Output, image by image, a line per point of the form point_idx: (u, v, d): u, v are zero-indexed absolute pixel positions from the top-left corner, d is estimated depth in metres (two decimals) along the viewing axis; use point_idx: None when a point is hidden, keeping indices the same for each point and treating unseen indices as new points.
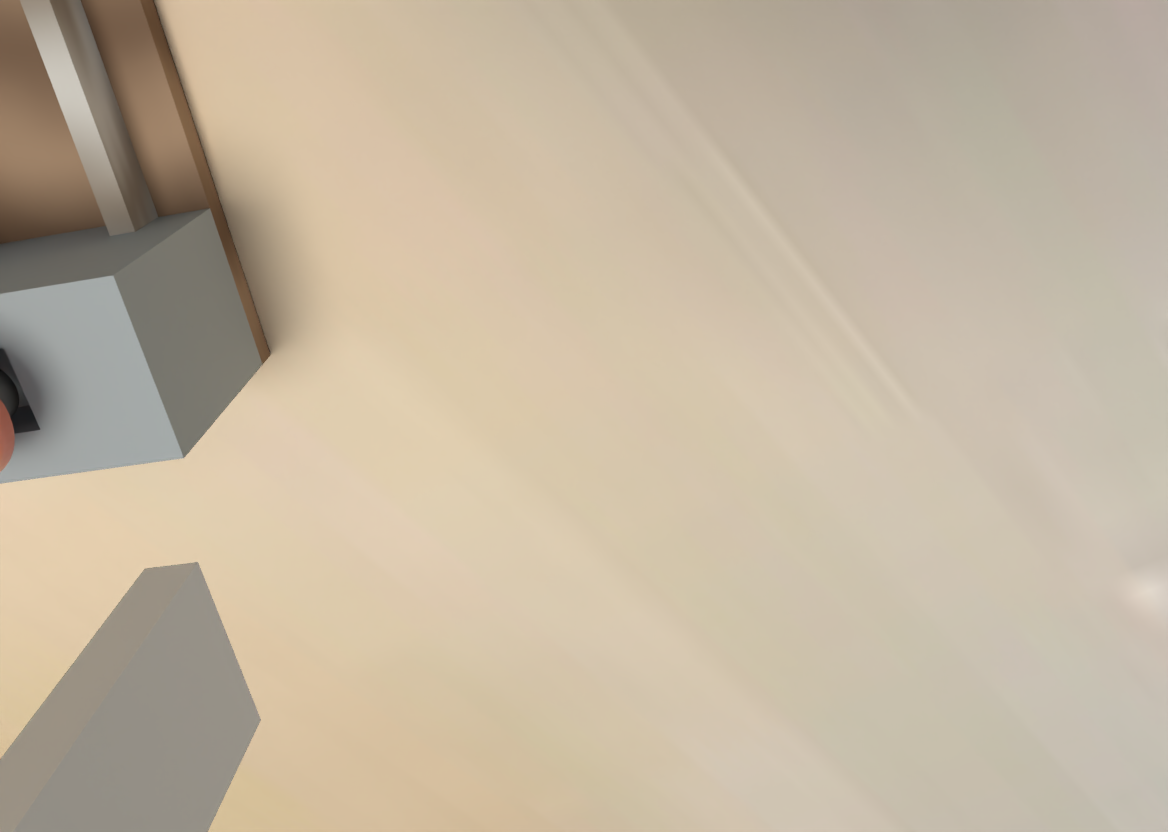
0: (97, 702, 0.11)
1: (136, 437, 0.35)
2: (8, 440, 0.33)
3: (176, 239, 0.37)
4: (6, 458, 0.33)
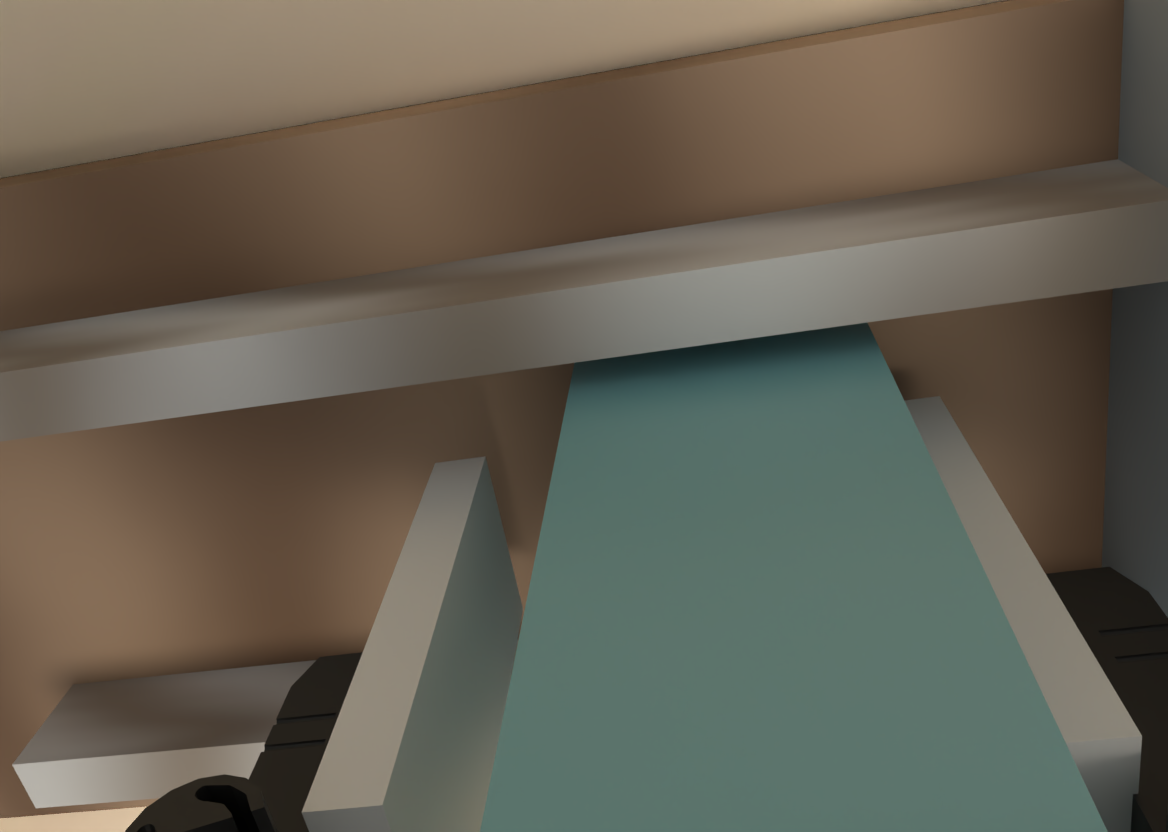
0: (448, 562, 0.13)
1: None
2: None
3: None
4: None
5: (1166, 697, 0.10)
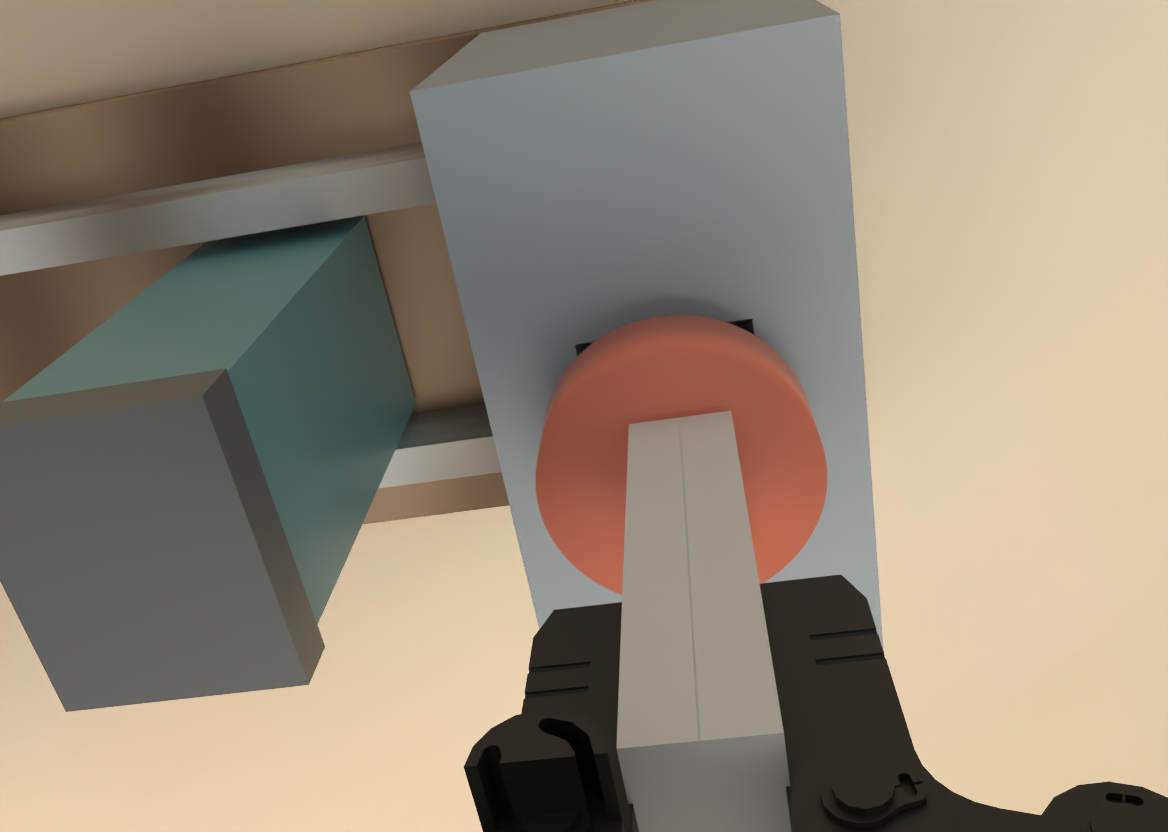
0: (679, 516, 0.13)
1: (780, 118, 0.16)
2: (709, 325, 0.16)
3: (469, 50, 0.20)
4: (750, 339, 0.16)
5: (847, 697, 0.10)
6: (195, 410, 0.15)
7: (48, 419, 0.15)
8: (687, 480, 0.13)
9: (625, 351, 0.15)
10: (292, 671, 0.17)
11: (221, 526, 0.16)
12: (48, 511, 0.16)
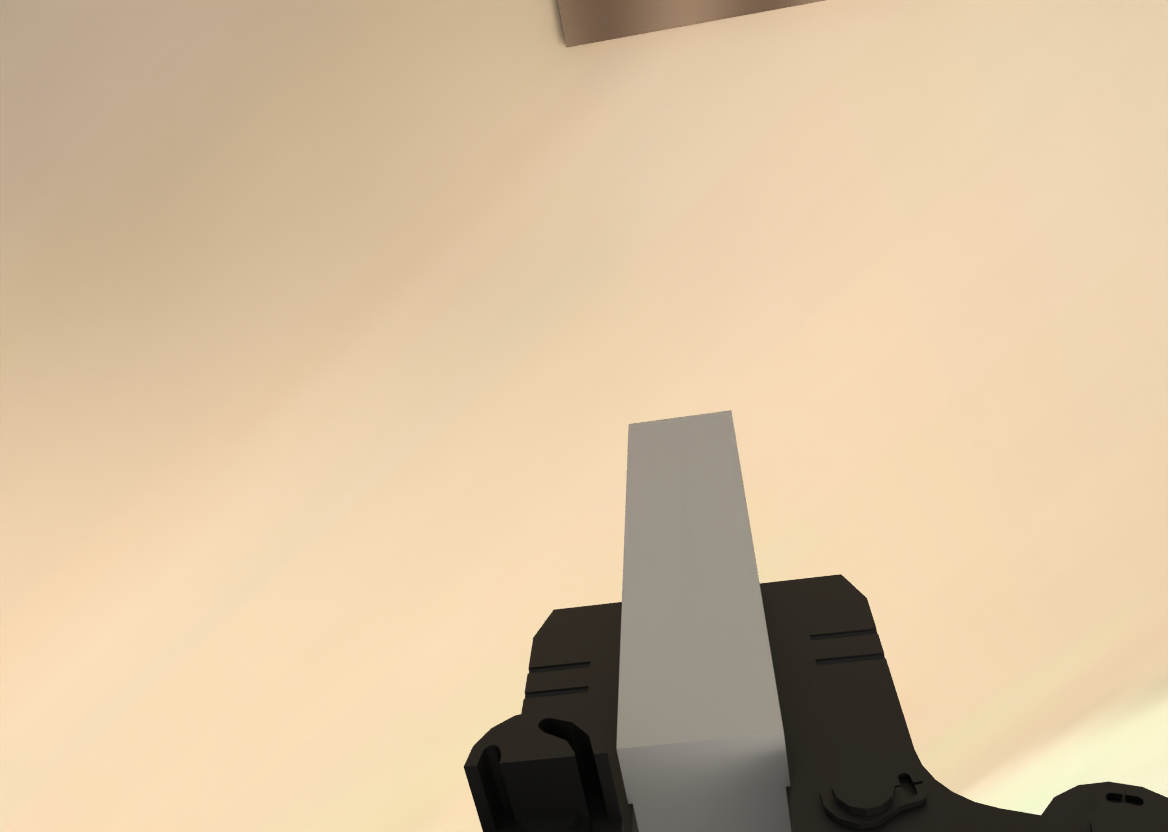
0: (679, 516, 0.13)
1: None
2: None
3: None
4: None
5: (846, 697, 0.10)
6: None
7: None
8: (687, 480, 0.13)
9: None
10: None
11: None
12: None
